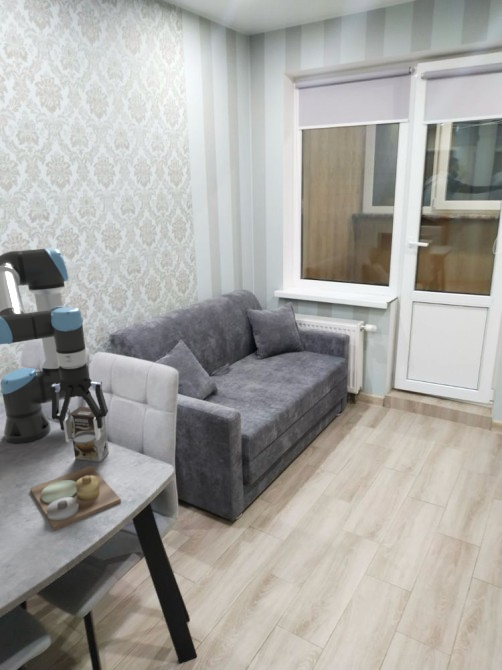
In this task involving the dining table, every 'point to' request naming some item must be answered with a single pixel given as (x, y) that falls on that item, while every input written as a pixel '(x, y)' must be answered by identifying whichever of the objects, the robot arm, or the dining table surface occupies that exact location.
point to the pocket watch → (80, 437)
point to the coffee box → (95, 448)
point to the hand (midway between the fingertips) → (83, 438)
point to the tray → (74, 497)
